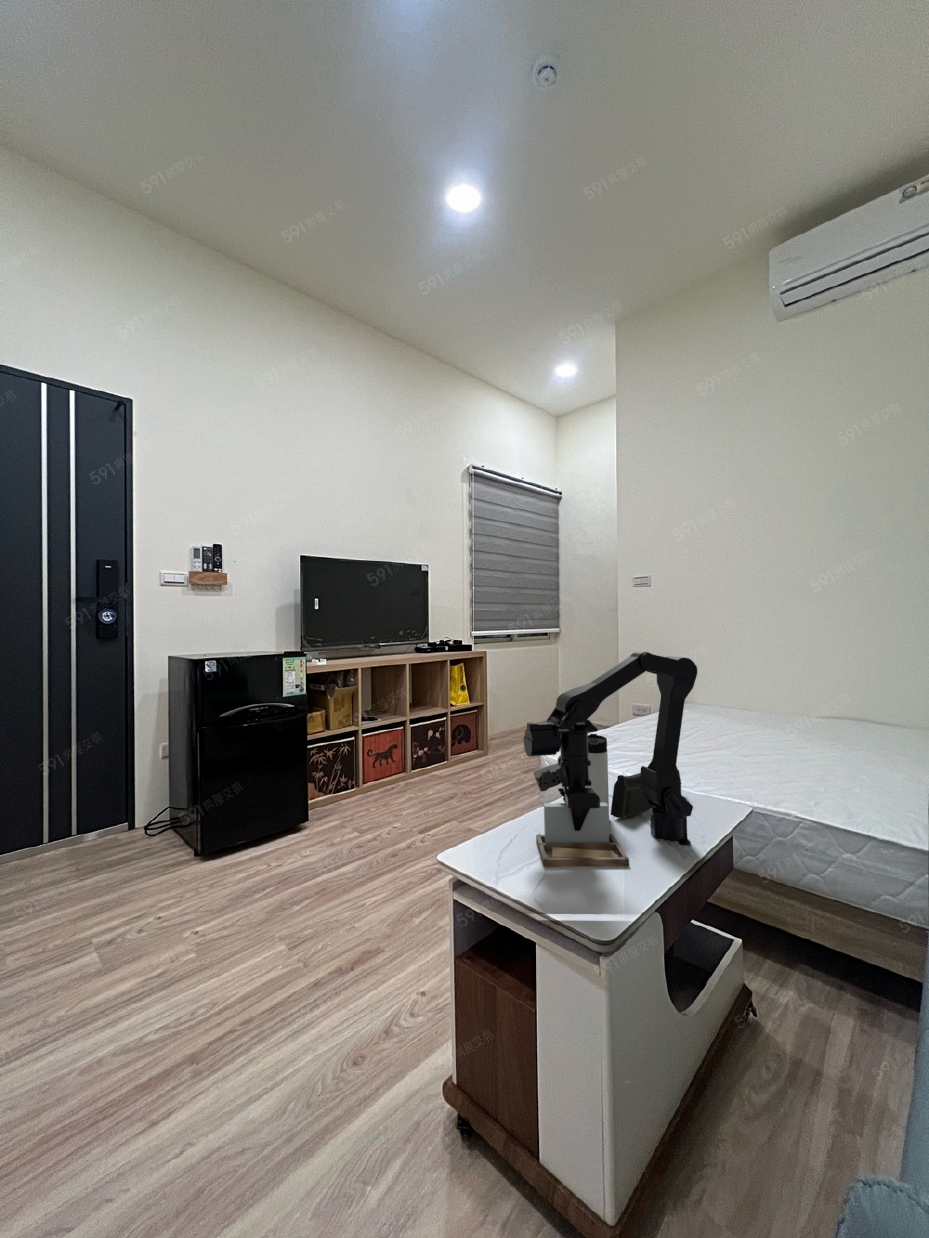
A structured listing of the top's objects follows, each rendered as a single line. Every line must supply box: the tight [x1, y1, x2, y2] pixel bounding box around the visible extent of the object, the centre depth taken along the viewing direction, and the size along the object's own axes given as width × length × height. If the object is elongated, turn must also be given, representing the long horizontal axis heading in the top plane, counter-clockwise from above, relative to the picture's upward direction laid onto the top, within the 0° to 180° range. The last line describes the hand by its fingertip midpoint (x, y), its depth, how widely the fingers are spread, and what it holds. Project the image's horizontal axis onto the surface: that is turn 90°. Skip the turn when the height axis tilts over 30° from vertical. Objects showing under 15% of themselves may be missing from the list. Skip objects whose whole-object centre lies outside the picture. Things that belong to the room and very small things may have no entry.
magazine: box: [610, 765, 682, 819], centre depth 131 cm, size 17×3×30 cm
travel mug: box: [585, 733, 610, 821], centre depth 123 cm, size 6×7×20 cm
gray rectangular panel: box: [543, 802, 610, 843], centre depth 106 cm, size 13×2×9 cm, turn 89°
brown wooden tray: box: [535, 833, 630, 868], centre depth 103 cm, size 16×12×2 cm
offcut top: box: [551, 847, 615, 858], centre depth 101 cm, size 12×4×1 cm, turn 79°
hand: (576, 828), depth 106 cm, fingers closed on gray rectangular panel, 2 cm apart
